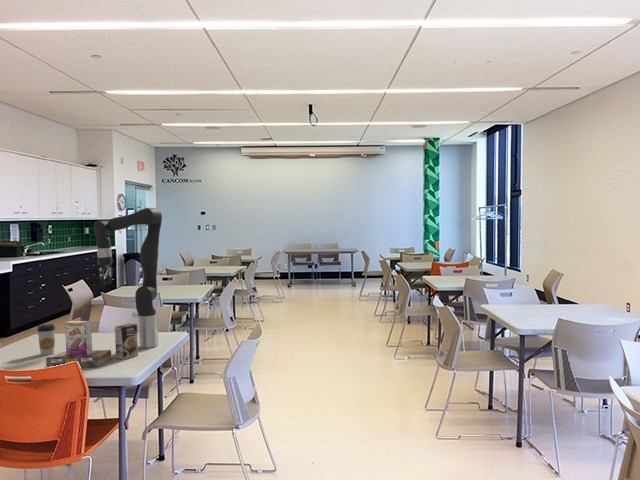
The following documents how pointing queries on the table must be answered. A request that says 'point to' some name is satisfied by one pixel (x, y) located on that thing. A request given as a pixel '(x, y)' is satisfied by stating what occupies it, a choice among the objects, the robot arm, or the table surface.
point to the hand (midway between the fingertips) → (106, 285)
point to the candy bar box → (78, 338)
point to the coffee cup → (46, 339)
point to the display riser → (81, 359)
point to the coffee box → (126, 341)
